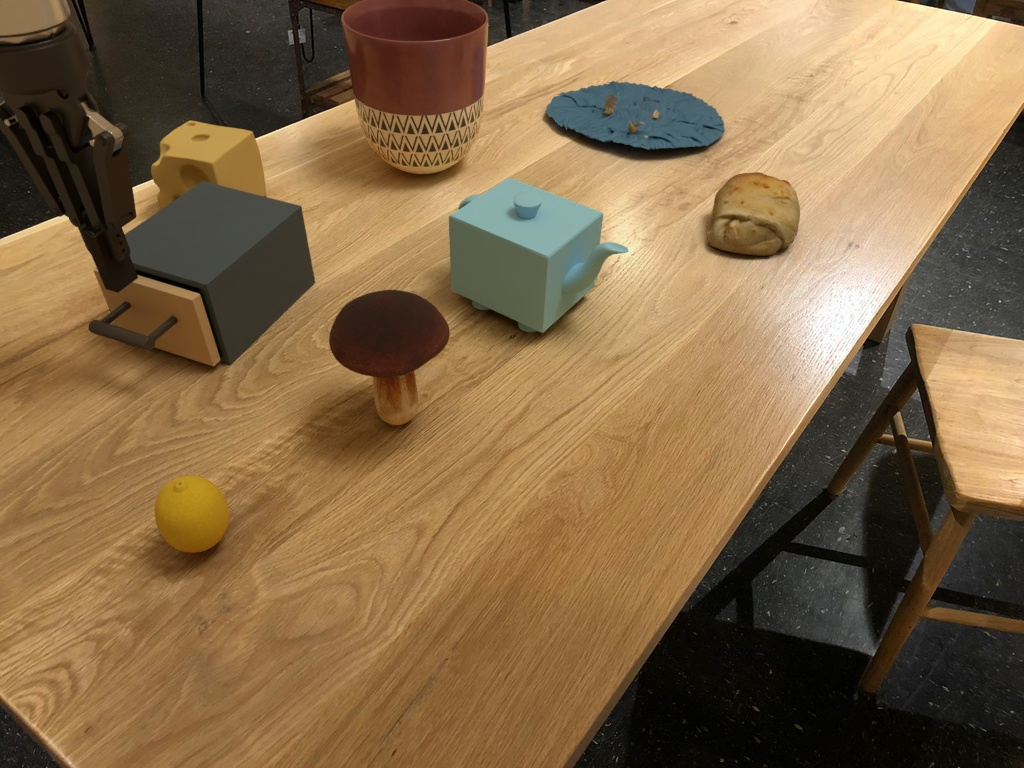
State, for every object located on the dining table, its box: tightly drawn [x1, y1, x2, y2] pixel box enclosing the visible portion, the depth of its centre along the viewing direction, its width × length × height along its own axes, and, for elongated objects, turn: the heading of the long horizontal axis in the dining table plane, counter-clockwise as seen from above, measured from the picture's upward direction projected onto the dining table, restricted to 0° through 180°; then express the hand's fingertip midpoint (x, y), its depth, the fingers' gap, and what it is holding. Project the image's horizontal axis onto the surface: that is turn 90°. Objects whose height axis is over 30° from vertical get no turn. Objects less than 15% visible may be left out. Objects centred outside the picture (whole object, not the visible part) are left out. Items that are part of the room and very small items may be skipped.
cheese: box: [150, 119, 267, 211], centre depth 102 cm, size 10×11×10 cm
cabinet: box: [124, 181, 316, 366], centre depth 86 cm, size 17×14×11 cm
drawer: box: [88, 267, 221, 368], centre depth 83 cm, size 20×12×9 cm, turn 158°
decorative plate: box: [544, 80, 726, 151], centre depth 128 cm, size 30×30×5 cm
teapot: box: [448, 176, 629, 334], centre depth 87 cm, size 22×11×14 cm, turn 54°
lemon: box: [154, 474, 230, 554], centre depth 63 cm, size 6×6×8 cm
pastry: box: [706, 171, 801, 257], centre depth 102 cm, size 14×12×8 cm
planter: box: [340, 0, 489, 175], centre depth 109 cm, size 20×20×21 cm
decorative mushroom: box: [328, 289, 450, 426], centre depth 72 cm, size 11×11×15 cm
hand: (122, 283), depth 74 cm, fingers closed
